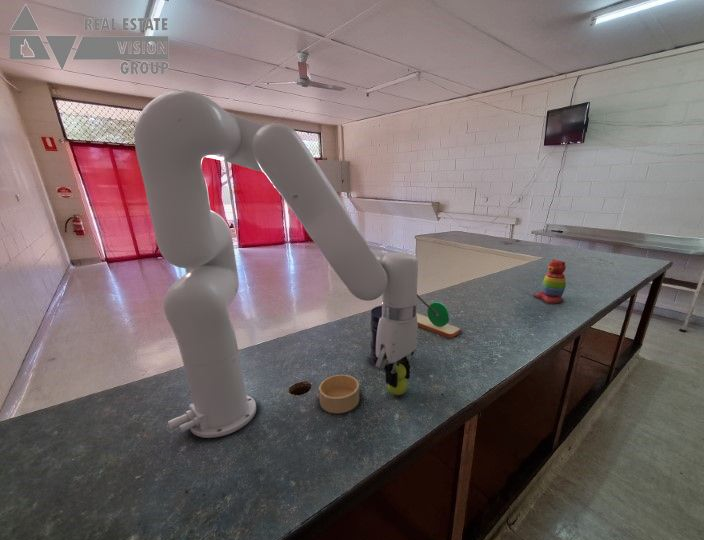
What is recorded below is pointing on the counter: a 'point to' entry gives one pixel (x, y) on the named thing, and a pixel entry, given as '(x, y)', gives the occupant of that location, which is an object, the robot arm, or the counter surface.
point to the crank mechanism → (437, 320)
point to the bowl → (339, 393)
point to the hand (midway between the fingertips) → (397, 379)
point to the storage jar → (375, 331)
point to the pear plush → (399, 381)
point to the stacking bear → (553, 283)
